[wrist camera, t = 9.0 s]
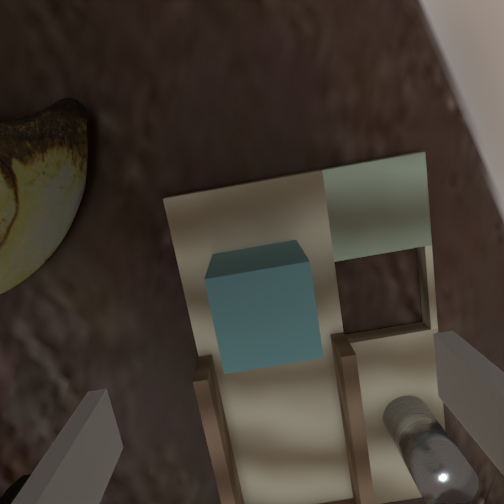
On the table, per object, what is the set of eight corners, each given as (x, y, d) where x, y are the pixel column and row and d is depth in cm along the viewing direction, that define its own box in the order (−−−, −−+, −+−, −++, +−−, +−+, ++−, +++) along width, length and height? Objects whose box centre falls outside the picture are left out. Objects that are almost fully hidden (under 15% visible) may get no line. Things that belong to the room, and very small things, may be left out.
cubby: (198, 356, 30) (192, 381, 27) (343, 332, 30) (356, 354, 27) (237, 526, 34) (236, 567, 31) (366, 505, 34) (380, 545, 30)
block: (212, 253, 28) (204, 279, 23) (296, 239, 28) (309, 261, 22) (228, 331, 30) (224, 374, 24) (308, 318, 30) (323, 357, 24)
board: (166, 196, 29) (162, 198, 27) (415, 152, 28) (425, 151, 27) (237, 511, 35) (237, 526, 34) (441, 478, 35) (449, 492, 33)
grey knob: (380, 399, 31) (418, 467, 25) (426, 392, 31) (477, 457, 24) (385, 438, 32) (423, 514, 25) (430, 431, 32) (479, 505, 25)
